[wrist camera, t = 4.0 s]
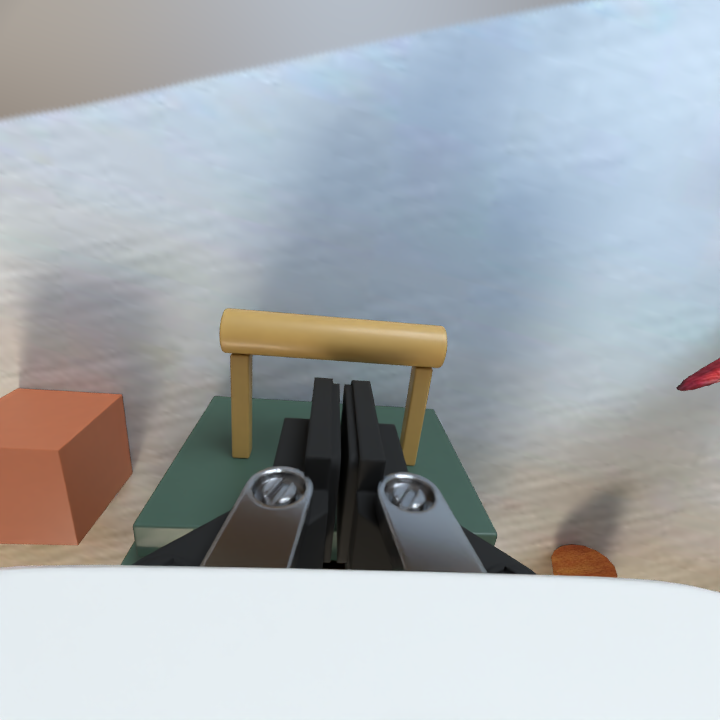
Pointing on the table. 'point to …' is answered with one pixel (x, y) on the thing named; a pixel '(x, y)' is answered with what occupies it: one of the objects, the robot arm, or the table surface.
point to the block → (59, 463)
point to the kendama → (581, 562)
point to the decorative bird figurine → (702, 377)
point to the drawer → (265, 418)
